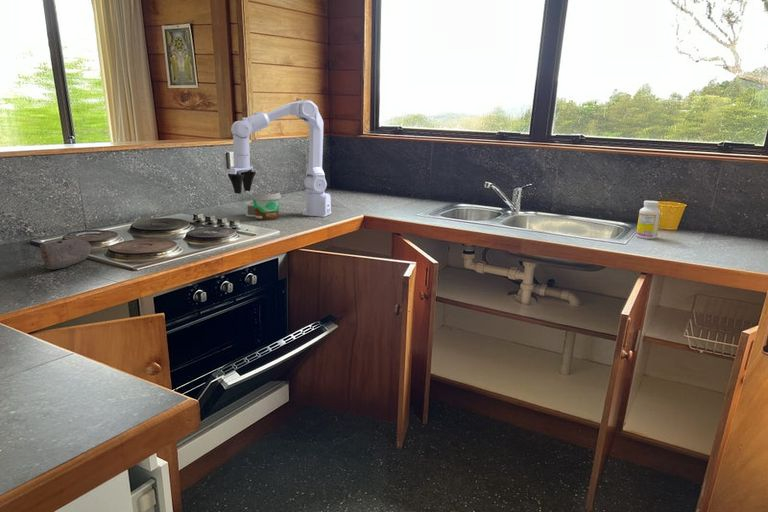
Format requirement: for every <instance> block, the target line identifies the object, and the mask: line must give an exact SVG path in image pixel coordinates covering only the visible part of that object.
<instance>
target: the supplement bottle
mask: <svg viewBox="0 0 768 512" xmlns="http://www.w3.org/2000/svg"><path fill="white" fill-rule="evenodd" d="M659 205H660V202H659V201H657V200H644V201H643V207H642V208H640V209H639V211H638V219H637V226H636V232H635V236H636V237H637V238H640V239H645V240H654V239H656V238H657V237H658V231H659V224H660V218H661V210H660V209H659V208H658V207H659Z"/></svg>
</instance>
